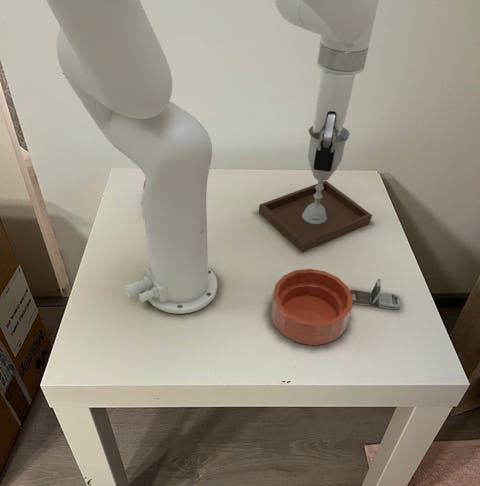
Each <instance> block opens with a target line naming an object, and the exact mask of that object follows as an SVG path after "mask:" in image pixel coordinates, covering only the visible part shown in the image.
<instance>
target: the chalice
mask: <svg viewBox="0 0 480 486" xmlns="http://www.w3.org/2000/svg"><path fill="white" fill-rule="evenodd" d="M335 128H336V127H335ZM325 129H326V128H323V131H325ZM320 132H321V131H320ZM320 132H319V133H317V132H316V133H314V132H313V125H311V127H309V129H308V134H309V137H310V140H309V146H308V154H307V158H308V163H309V167H310V170H311V173H312V176H313V178H314V179H315V180H317V183H316V184H317V186H316V187H315V188H316V194H314V197H315V202H314V203H312V204H310V205H308V206H307V208H306V209H305V211H304V212H303V214H302V217H303V219H304V220H305V221H307V222H309V223H313V224H320V223H323V222H325V221H326V220H327V216H326V212H325V208H324V207H323V206H322V205H321V204H320V199H321V198H322V197H323V196H322V195H321V192H322V190H323V189H324V187H323V181H329V179H330V178H331V177H332V175H333V174H335V171H336V170H337V169H338V168H339V166H340V164H341V162H342V160H343V154H344V150H345V145H346V142H347V141H348V139H349V138H350V136H351V133H350V131H349V130H348V129H347V128H346V127H344V126H343V127H342V131H341V134H340V135H338V136H336V140H335V146H334V150H335V153H334V159H333V164H332V169H331V171H330V172H327V171H320V170H314V168H313V167H314V161H315V154H316V148H317V147H318V144H319V138H320ZM332 132H335V129H333V131H332ZM322 140H324V135H323V139H322ZM332 140H333V136H332V137H331V141H332Z"/></svg>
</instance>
